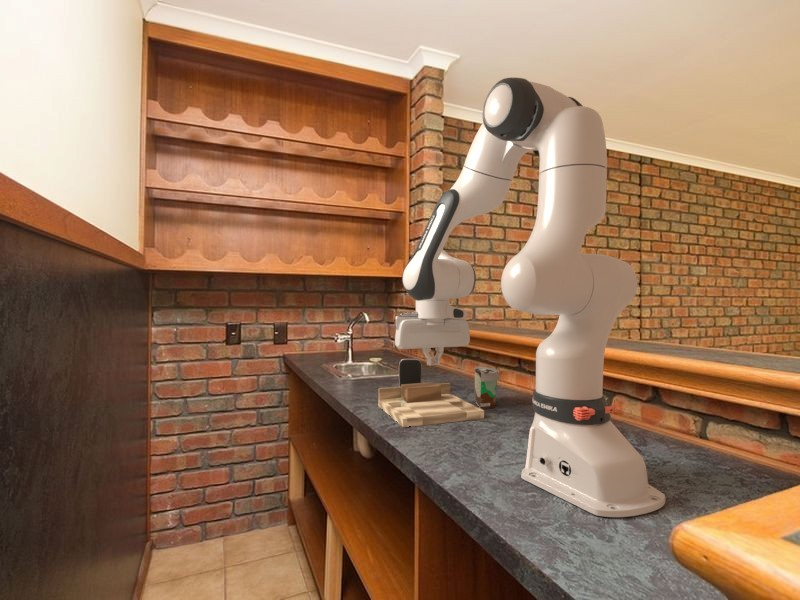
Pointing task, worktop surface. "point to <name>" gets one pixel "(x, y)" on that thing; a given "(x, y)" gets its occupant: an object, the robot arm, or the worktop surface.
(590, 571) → the worktop surface
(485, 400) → the food container
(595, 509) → the robot arm
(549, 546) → the worktop surface
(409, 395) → the block
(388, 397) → the wooden frame
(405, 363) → the battery charger
